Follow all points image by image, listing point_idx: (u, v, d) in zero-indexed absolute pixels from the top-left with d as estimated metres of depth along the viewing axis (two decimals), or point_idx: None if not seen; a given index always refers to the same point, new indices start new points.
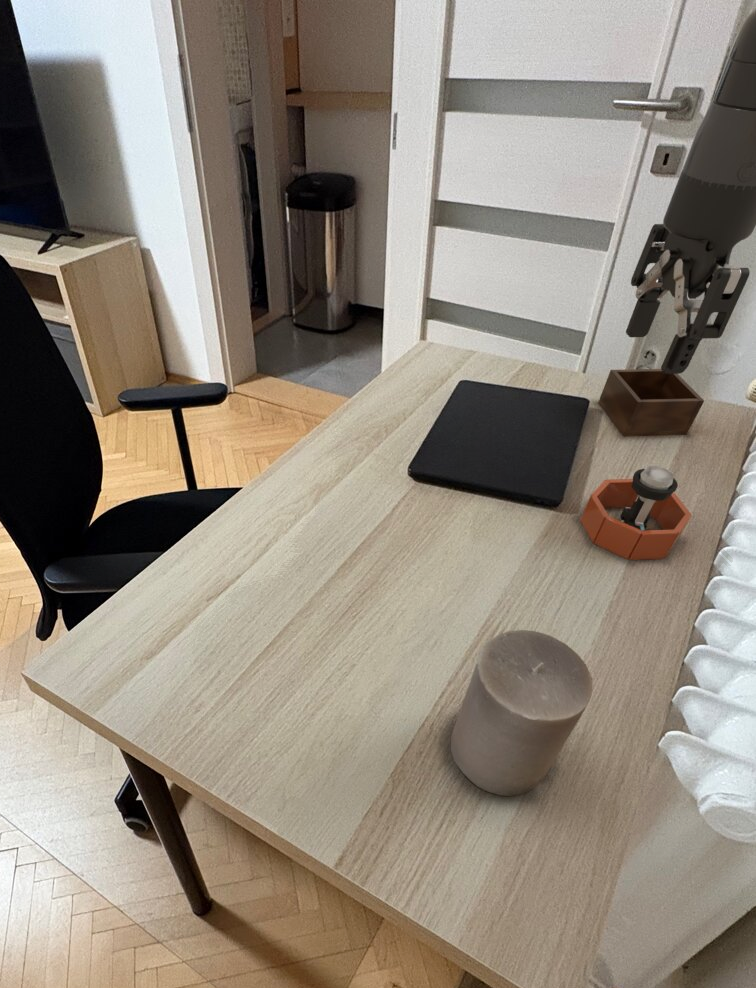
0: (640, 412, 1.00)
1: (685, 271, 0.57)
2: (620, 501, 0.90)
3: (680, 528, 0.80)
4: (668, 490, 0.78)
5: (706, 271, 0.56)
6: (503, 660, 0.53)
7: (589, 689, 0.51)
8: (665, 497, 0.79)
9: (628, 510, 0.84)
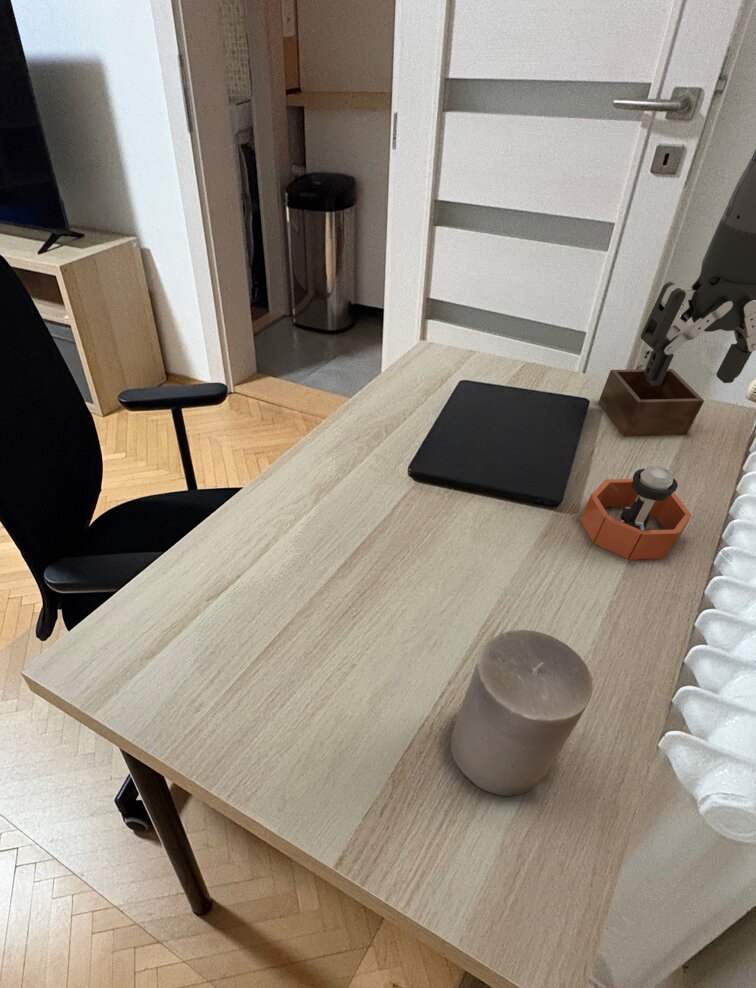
0: (640, 412, 1.00)
1: None
2: (620, 501, 0.90)
3: (680, 528, 0.80)
4: (668, 490, 0.78)
5: None
6: (503, 660, 0.53)
7: (589, 689, 0.51)
8: (665, 497, 0.79)
9: (628, 510, 0.84)
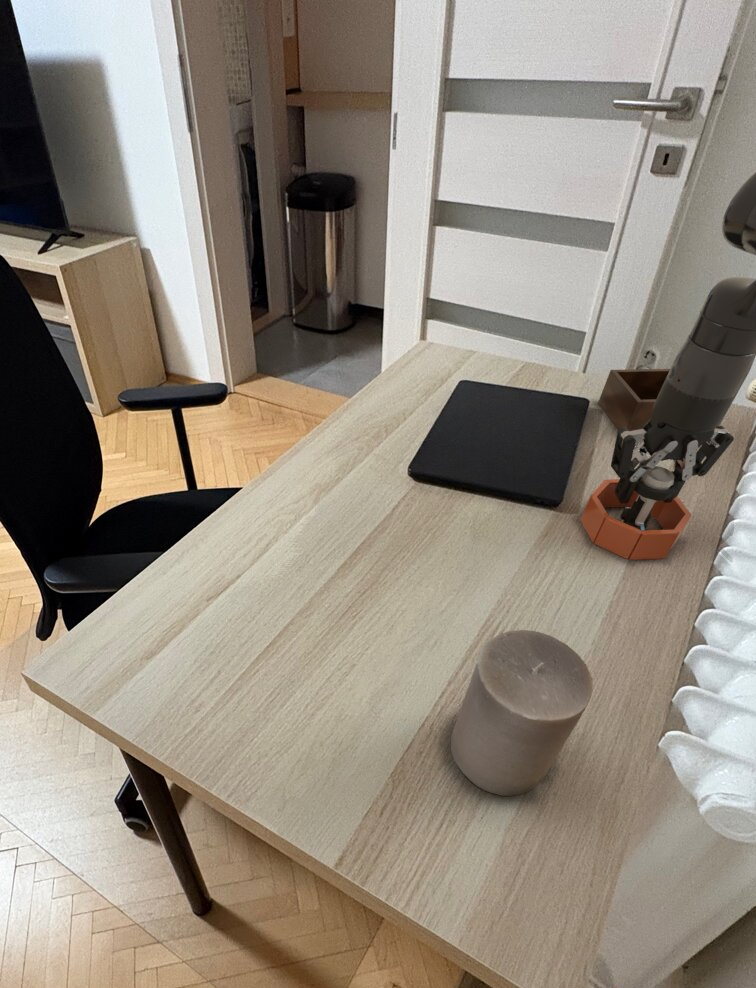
0: (640, 412, 1.00)
1: None
2: None
3: (680, 528, 0.80)
4: (669, 490, 0.78)
5: None
6: (503, 660, 0.53)
7: (589, 689, 0.51)
8: (666, 497, 0.79)
9: (628, 510, 0.84)
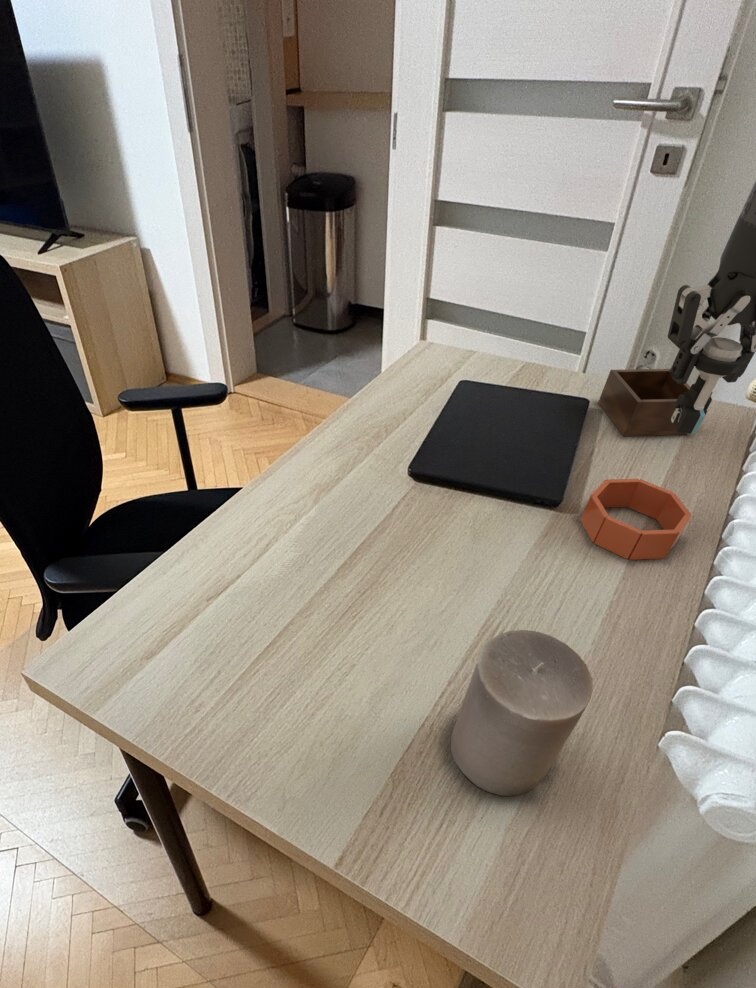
0: (640, 412, 1.00)
1: None
2: (620, 501, 0.90)
3: (680, 528, 0.80)
4: (736, 362, 0.68)
5: None
6: (503, 660, 0.53)
7: (589, 689, 0.51)
8: (732, 371, 0.68)
9: (685, 394, 0.73)
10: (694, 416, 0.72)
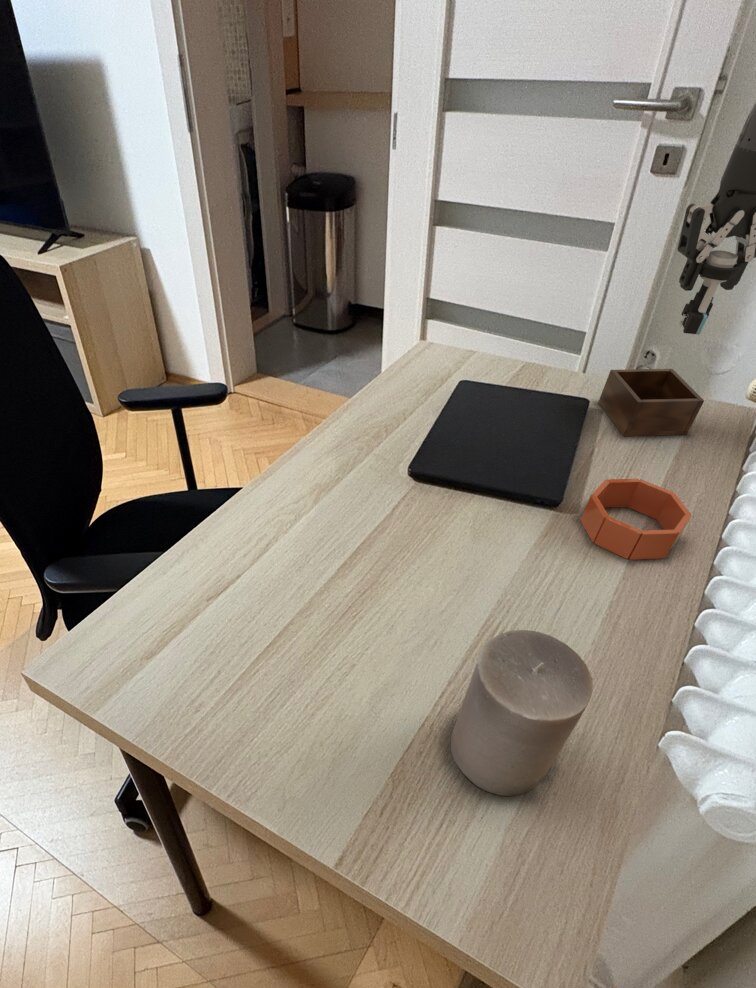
0: (640, 412, 1.00)
1: None
2: (620, 501, 0.90)
3: (680, 528, 0.80)
4: (733, 268, 0.84)
5: None
6: (503, 660, 0.53)
7: (589, 689, 0.51)
8: (730, 276, 0.84)
9: (691, 301, 0.89)
10: (698, 317, 0.88)
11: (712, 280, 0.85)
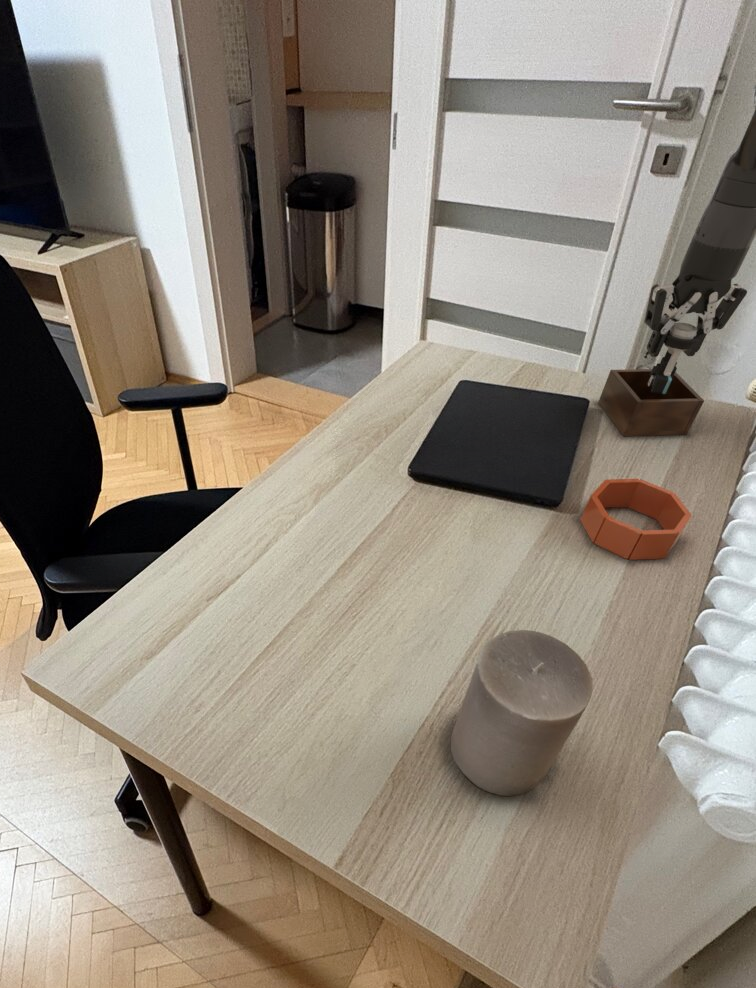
0: (640, 412, 1.00)
1: None
2: (620, 501, 0.90)
3: (680, 528, 0.80)
4: (693, 339, 0.95)
5: None
6: (503, 660, 0.53)
7: (589, 689, 0.51)
8: (690, 346, 0.95)
9: (658, 364, 1.00)
10: (664, 380, 1.00)
11: (675, 349, 0.96)
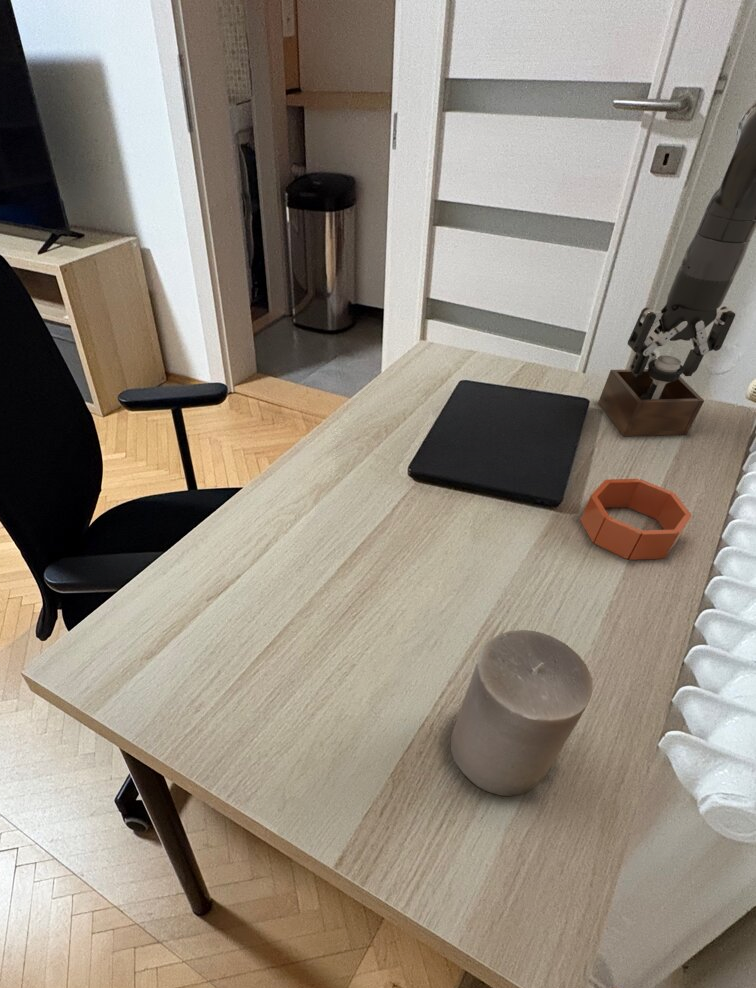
0: (640, 412, 1.00)
1: None
2: (620, 501, 0.90)
3: (680, 528, 0.80)
4: (676, 372, 0.99)
5: None
6: (503, 660, 0.53)
7: (589, 689, 0.51)
8: (674, 379, 0.99)
9: (644, 395, 1.04)
10: None
11: (660, 381, 1.00)
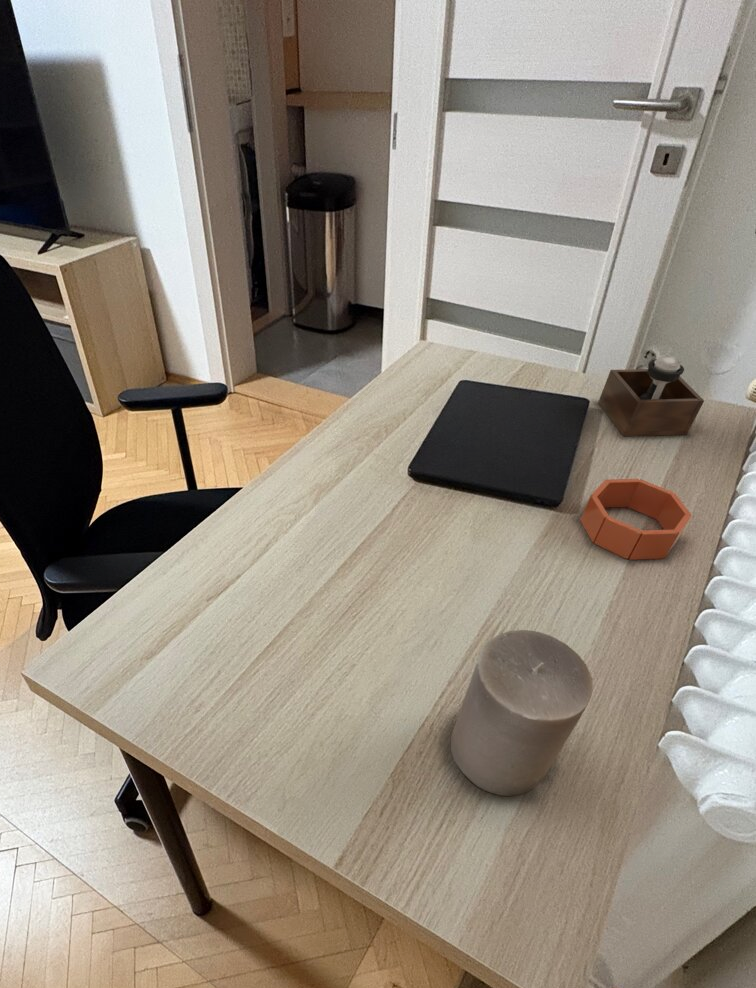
0: (640, 412, 1.00)
1: None
2: (620, 501, 0.90)
3: (680, 528, 0.80)
4: (676, 372, 0.99)
5: None
6: (503, 660, 0.53)
7: (589, 689, 0.51)
8: (674, 379, 0.99)
9: (644, 395, 1.04)
10: None
11: (660, 381, 1.00)
